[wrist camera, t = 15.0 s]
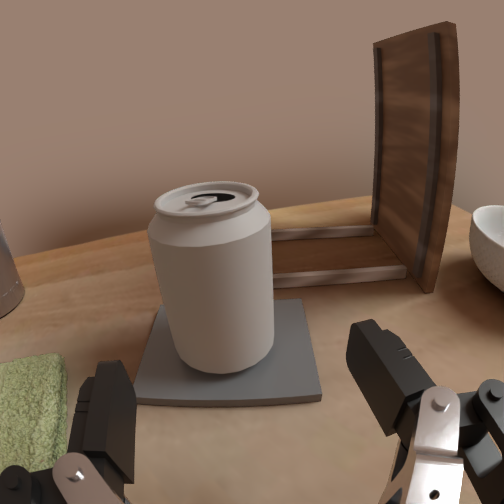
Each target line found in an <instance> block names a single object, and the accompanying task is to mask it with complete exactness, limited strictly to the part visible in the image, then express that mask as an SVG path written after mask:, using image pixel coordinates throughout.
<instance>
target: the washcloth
mask: <svg viewBox="0 0 504 504" xmlns="http://www.w3.org/2000/svg"><path fill="white" fill-rule="evenodd" d="M64 358H65V357H63V358H62V356H61V355H59V353H49V354H45V355H43V354H42V355H39V356H31V357H26V358H23V359H21V358H19V359H14V360H13V361H12V362H10V363H0V474H1V472H2V471H3V470H4V469H5V468H6V467H8V466H11V465H20V466H22V467H24V468H25V469H26V470H27V471H29V472H35V471H40V470H44V469H49V468H52V467H54V464H55V462H56V461H57V460H58V459H59V458H60V457H61V456H63V455H65V454H66V453H67V439H66V428H67V423H66V417H67V406H66V401H67V399H66V394H67V388H66V383H67V373H66V370H65V363H64V362H65V361H64Z"/></svg>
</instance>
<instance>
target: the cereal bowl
mask: <svg viewBox="0 0 504 504" xmlns="http://www.w3.org/2000/svg"><path fill="white" fill-rule="evenodd" d="M469 234H470V235H469V242H470V250H471V254H472V256H473V259H474V261H475V264H476V265H477V267H478V268H479V270H480V271H481V272H482V273H483V275H484V276H485V277H486V278H487V279H488V280H489V281H490V282H491V283H492V284H494V285H495V286H496V287H498V288H499V289H500V290H501V291H502V292H503V293H504V206H497V205H495V206H494V205H492V206H484V207H480V208H478V209H477V210H475V211H474V213H473V215H472V220H471V226H470V233H469Z"/></svg>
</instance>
